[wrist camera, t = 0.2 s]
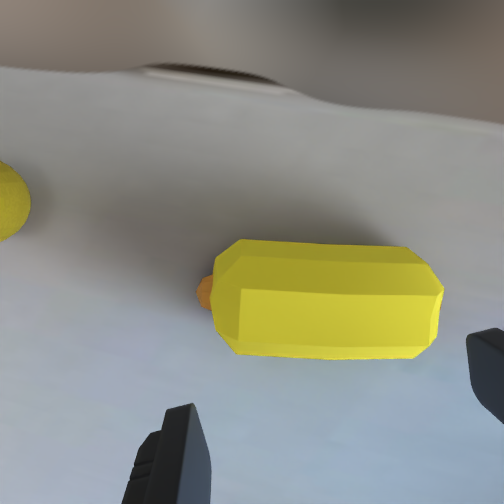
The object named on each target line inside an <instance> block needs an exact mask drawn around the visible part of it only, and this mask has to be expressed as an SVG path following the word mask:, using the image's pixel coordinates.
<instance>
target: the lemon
mask: <svg viewBox="0 0 504 504" xmlns="http://www.w3.org/2000/svg"><path fill="white" fill-rule="evenodd" d="M30 207H31V198H30V192H29V190H28V187H27V185H26V183H25V182H24V180H23V179H22V177H21V176H20V175H19V174H18V173H17V172H16V171H15V170H14V169H12V168H11V167H10V166H8V165H7V164H5V163H3V162H1V161H0V242H1V241H4V240H6V239H7V238H9V237H10V236H12V235H13V234H15V233H16V232H17V231H18V230H19V229H20V228H21V227H22V226H23V225H24V223H25V222H26V220H27V218H28V215H29V213H30Z"/></svg>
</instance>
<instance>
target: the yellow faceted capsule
mask: <svg viewBox="0 0 504 504" xmlns="http://www.w3.org/2000/svg"><path fill="white" fill-rule="evenodd" d="M443 293H444V287H443V286H442V284H441V283H440V281H439V280H438V278H437V277H436V275H435V274H434V272H433V271H432V269H431V268H430V266H429V265H428V264H427V263H426V262H425V261H424V260H422V259H421V258H420V257H419V256H417V255H416V254H415V253H414V252H412V251H411V250H410V249H409V248H407V247H395V246H365V245H335V244H315V243H298V242H281V241H264V240H247V239H240V240H238V241H237V242H236V243H234V244H233V245H232V246H230V247H229V248H228V249H226V250H225V251H224V252H222V253H221V254H220V255H218V256H217V257H216V258H215V263H214V269H213V274H212V275H210V276H207V277H204V278H202V280H201V282H200V284H199V286H198V288H197V290H196V294H197V297H198V299H199V302H200V304H201V307H203V308H206V309H208V310H211V311H212V315H213V320H214V325H215V329H216V331H217V332H218V333H219V335H220V336H221V337H222V338H223V339H224V340H225V342H226V343H227V344H228V345H229V346H230V348H231V349H232V350H233V351H234V352H235V353H236V354H239V355H256V356H273V357H290V358H307V359H324V360H346V359H409V358H415V357H416V356H417V355H418V354H420V353H421V352H422V351H424V350H425V349H426V348H427V347H429V346H430V344H431V343H432V342H433V341H434V339H435V338H436V337H437V330H438V320H439V311H440V309H441V303H442V297H443Z"/></svg>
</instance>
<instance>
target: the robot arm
mask: <svg viewBox="0 0 504 504" xmlns="http://www.w3.org/2000/svg"><path fill="white" fill-rule="evenodd" d="M466 346H467V355H468V363H469V372H470V380H471V385H472V389H473V391H474V393H475V395H476V397H477V399H478V400H479V402H480V403H481V404H482V405H483V406H484V407H485V408H486V409H487V410H489V411H490V412H491V413H492V414H493V415H494V416H495V417H496V418H497V419H499V420H500V421H501V422H502V423H503V424H504V331H502V330H501V329H498V328H491V329H487V330H484V331H480V332H476V333H472V334H469V335H468V336H467V338H466ZM210 495H211V461H210V455H209V450H208V447H207V443H206V440H205V437H204V433H203V430H202V427H201V423H200V420H199V417H198V413H197V410H196V407H195V405H194V404H193V403H191V404H187V405H183V406H179V407H175V408H171V409H167V410H166V413H165V417H164V421H163V425H162V429H161V430H160V431H156V432H152V433H150V434H149V436H148V437H147V438H146V440H145V441H144V442H143V444H142V445H141V446H140V448H139V450H138V453H137V456H136V459H135V462H134V467H133V469H132V472H131V475H130V481H128V484H127V488H126V491H125V494H124V497H123V500H122V504H210Z"/></svg>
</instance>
